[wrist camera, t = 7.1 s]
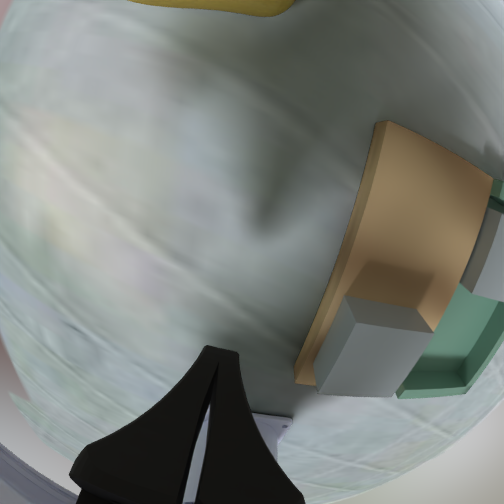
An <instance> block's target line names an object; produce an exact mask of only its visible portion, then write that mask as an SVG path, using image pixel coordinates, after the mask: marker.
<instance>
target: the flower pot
mask: <svg viewBox="0 0 504 504" xmlns="http://www.w3.org/2000/svg"><path fill="white" fill-rule="evenodd" d="M128 1H132V2H136V3H141V4H146V5H153V6H162V7H175V8H194V9H208V10H219V11H227V12H234V13H241V14H246V15H252V16H259V17H272V16H276V15H279V14H281V13H283V12H284V11H286V10H287V9H288V8H289V7H290V6H291V5H292V4H293V3H294V2H295V0H128Z"/></svg>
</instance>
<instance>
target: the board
mask: <svg viewBox="0 0 504 504" xmlns="http://www.w3.org/2000/svg"><path fill="white" fill-rule="evenodd" d="M493 180H494V179H493V178H492V177H490V176H489V175H488V174H486V173H485V172H483V171H482V170H480V169H479V168H477V167H476V166H474V165H472V164H471V163H469V162H468V161H466V160H464V159H463V158H461V157H460V156H458V155H456V154H454V153H453V152H451V151H449V150H447V149H446V148H444V147H442V146H440V145H438V144H437V143H435V142H433V141H431V140H429V139H427V138H425V137H423V136H421V135H419V134H417V133H415V132H413V131H411V130H409V129H407V128H404V127H402V126H400V125H398V124H395V123H393V122H391V121H389V120H387V121H382V122H377V123H376V124H375V128H374V133H373V137H372V141H371V145H370V150H369V154H368V158H367V162H366V165H365V169H364V173H363V177H362V180H361V184H360V188H359V191H358V195H357V198H356V201H355V205H354V208H353V211H352V215H351V218H350V221H349V224H348V228H347V231H346V234H345V237H344V240H343V243H342V246H341V249H340V252H339V255H338V257H337V260H336V263H335V266H334V269H333V272H332V274H331V277H330V280H329V283H328V285H327V288H326V291H325V293H324V296H323V298H322V301H321V303H320V306H319V309H318V311H317V314H316V316H315V318H314V321H313V323H312V326H311V328H310V331H309V333H308V335H307V338H306V340H305V342H304V345H303V347H302V349H301V351H300V354H299V356H298V358H297V360H296V363H295V365H294V378H295V383H296V384H304V385H313V386H316V381H315V374H314V368H313V362H314V360H315V358H316V356H317V354H318V352H319V350H320V348H321V346H322V344H323V342H324V340H325V337H326V335H327V333H328V331H329V329H330V326H331V324H332V322H333V320H334V317H335V315H336V313H337V311H338V308H339V306H340V304H341V301H342V299H343V296H344V295H346V296H351V297H356V298H361V299H366V300H371V301H376V302H381V303H387V304H392V305H397V306H402V307H408V308H413V309H417V311H418V312H419V313H420V315H421V316H422V317H423V319H424V320H425V321H426V323H427V324H428V325H429V327H430V328H431V329H432V331H433V332H434V330H435V328H436V327H437V325H438V323H439V321H440V319H441V318H442V316H443V314H444V312H445V310H446V308H447V306H448V304H449V302H450V300H451V298H452V296H453V294H454V292H455V290H456V288H457V286H458V284H459V281H460V279H461V277H462V275H463V272H464V270H465V268H466V265H467V263H468V260H469V258H470V255H471V253H472V250H473V247H474V245H475V242H476V239H477V236H478V233H479V230H480V227H481V224H482V221H483V218H484V214H485V211H486V208H487V204H488V200H489V196H490V192H491V188H492V184H493Z"/></svg>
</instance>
